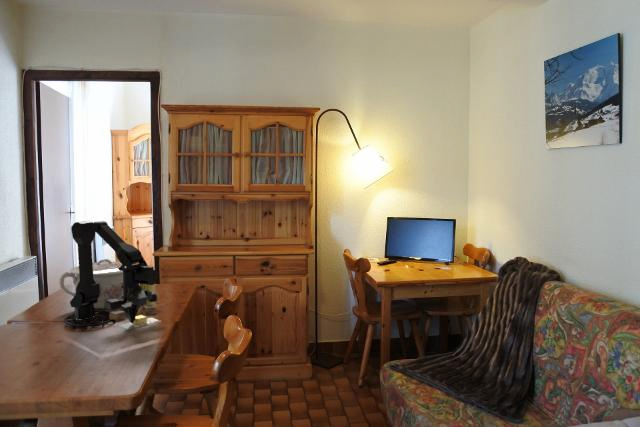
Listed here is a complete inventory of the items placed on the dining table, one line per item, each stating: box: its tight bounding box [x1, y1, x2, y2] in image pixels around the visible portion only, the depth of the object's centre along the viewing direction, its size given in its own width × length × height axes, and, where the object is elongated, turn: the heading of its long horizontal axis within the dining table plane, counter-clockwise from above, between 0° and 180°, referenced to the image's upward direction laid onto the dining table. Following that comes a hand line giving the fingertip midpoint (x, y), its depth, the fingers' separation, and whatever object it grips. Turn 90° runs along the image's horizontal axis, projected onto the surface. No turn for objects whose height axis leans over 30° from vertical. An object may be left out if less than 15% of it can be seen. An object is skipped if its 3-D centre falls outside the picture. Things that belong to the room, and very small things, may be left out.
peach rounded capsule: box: [136, 306, 143, 316], centre depth 205 cm, size 5×5×5 cm
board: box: [118, 317, 161, 331], centre depth 192 cm, size 14×7×1 cm, turn 139°
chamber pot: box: [59, 258, 135, 310], centre depth 220 cm, size 28×28×21 cm
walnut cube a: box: [109, 309, 126, 322], centre depth 197 cm, size 4×4×4 cm
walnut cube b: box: [143, 304, 157, 316], centre depth 206 cm, size 4×4×4 cm
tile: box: [132, 314, 148, 326], centre depth 191 cm, size 4×4×2 cm
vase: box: [139, 284, 155, 308], centre depth 216 cm, size 6×6×14 cm
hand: (131, 322), depth 189 cm, fingers closed
